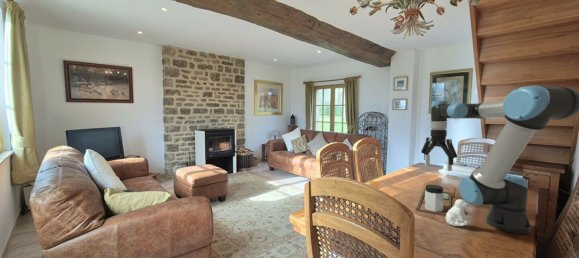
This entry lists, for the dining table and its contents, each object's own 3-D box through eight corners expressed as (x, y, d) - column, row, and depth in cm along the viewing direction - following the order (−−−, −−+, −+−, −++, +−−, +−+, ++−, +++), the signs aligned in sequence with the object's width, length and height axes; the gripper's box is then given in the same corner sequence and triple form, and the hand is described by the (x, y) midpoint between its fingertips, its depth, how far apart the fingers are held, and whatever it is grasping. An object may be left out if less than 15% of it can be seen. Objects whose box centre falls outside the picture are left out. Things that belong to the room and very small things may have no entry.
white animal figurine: (448, 220, 118) (448, 195, 117) (470, 226, 112) (471, 199, 111) (444, 224, 113) (444, 198, 113) (466, 230, 107) (467, 203, 106)
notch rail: (454, 217, 121) (455, 205, 121) (415, 210, 130) (416, 198, 130) (455, 194, 157) (455, 184, 157) (424, 190, 166) (424, 181, 166)
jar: (445, 209, 132) (446, 187, 131) (439, 213, 126) (440, 189, 126) (427, 204, 138) (428, 183, 138) (421, 208, 133) (422, 186, 133)
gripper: (466, 130, 126) (465, 172, 127) (424, 128, 150) (424, 164, 151) (455, 130, 124) (454, 173, 125) (414, 128, 147) (414, 164, 148)
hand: (437, 168), depth 138 cm, fingers open, 13 cm apart
